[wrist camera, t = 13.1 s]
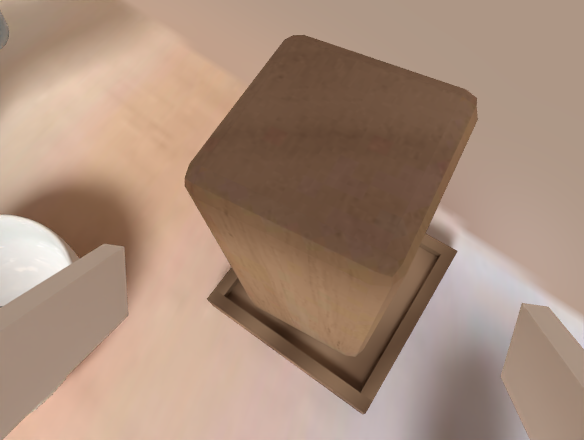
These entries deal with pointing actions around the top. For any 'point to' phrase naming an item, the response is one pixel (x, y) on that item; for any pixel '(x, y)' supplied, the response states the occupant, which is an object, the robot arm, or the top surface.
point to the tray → (328, 362)
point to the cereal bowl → (29, 259)
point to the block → (329, 184)
